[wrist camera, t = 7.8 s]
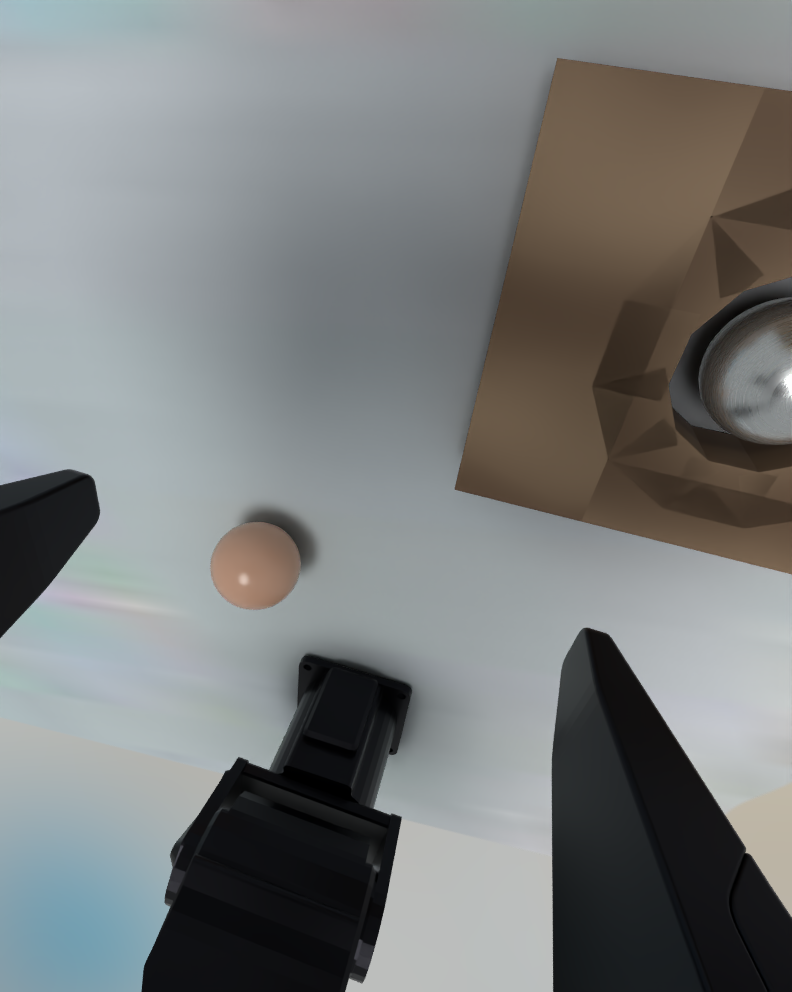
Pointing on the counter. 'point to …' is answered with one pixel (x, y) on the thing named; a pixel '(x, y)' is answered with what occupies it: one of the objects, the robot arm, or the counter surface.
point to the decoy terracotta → (255, 565)
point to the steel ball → (752, 374)
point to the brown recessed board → (637, 311)
